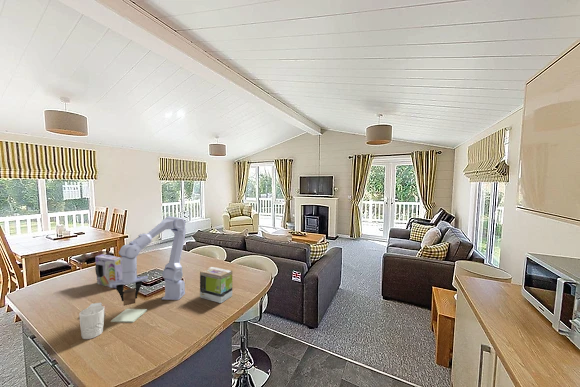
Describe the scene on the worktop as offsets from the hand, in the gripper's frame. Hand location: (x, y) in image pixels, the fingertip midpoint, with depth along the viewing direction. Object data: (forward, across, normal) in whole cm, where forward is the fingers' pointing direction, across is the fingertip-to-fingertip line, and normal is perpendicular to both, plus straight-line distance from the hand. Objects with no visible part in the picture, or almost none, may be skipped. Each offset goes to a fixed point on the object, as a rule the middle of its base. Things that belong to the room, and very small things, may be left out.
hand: (129, 298), depth 109 cm
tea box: (+8, -40, +1) cm, 41 cm away
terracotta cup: (+8, +12, -6) cm, 15 cm away
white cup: (+8, +12, +8) cm, 17 cm away
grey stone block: (+8, +14, -11) cm, 20 cm away
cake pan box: (+8, +12, -46) cm, 48 cm away
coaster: (+8, 0, 0) cm, 8 cm away
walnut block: (+2, 0, 0) cm, 2 cm away
